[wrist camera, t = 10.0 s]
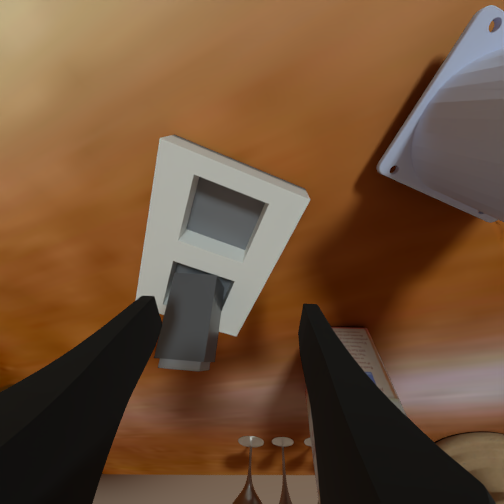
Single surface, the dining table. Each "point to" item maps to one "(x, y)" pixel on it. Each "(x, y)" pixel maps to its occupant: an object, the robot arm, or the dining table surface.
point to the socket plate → (215, 225)
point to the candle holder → (480, 458)
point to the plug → (191, 323)
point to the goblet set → (248, 498)
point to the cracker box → (369, 361)
